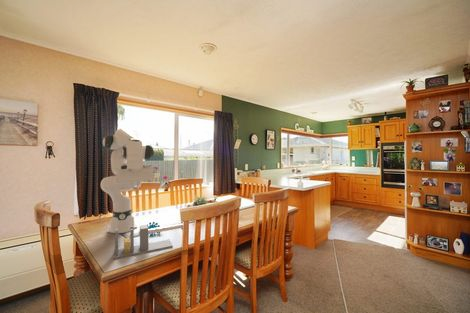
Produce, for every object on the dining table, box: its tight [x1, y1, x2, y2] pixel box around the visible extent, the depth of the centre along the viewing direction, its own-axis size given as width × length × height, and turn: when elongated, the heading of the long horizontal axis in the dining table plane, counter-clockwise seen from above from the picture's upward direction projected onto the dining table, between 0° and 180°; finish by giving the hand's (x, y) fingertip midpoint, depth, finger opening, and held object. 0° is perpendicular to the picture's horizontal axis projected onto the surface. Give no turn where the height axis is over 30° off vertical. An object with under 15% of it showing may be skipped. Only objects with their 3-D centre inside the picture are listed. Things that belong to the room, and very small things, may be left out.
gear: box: [146, 221, 161, 237], centre depth 144 cm, size 11×6×10 cm
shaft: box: [138, 221, 183, 236], centre depth 126 cm, size 8×28×6 cm, turn 118°
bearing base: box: [113, 224, 174, 260], centre depth 121 cm, size 10×30×14 cm, turn 118°
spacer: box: [123, 236, 130, 254], centre depth 117 cm, size 6×3×6 cm, turn 28°
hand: (135, 188), depth 125 cm, fingers closed
